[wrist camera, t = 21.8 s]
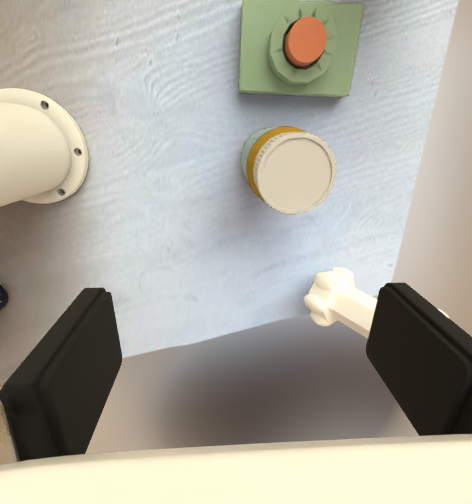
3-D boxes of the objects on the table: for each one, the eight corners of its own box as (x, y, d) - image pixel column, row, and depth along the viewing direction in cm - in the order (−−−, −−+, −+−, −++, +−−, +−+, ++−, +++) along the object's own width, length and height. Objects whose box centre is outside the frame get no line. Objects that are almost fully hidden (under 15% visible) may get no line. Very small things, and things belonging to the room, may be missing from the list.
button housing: (238, 92, 33) (240, 88, 29) (241, 5, 30) (244, -13, 26) (341, 97, 34) (355, 93, 30) (355, 12, 31) (373, -4, 27)
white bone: (346, 290, 45) (312, 327, 43) (332, 252, 40) (293, 292, 38) (455, 344, 33) (414, 399, 31) (455, 300, 28) (406, 362, 27)
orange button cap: (282, 65, 29) (286, 61, 28) (286, 21, 28) (290, 14, 26) (318, 67, 29) (323, 63, 28) (323, 23, 28) (329, 17, 26)
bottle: (278, 115, 34) (316, 104, 20) (306, 166, 37) (356, 188, 23) (229, 149, 35) (233, 162, 22) (259, 197, 38) (280, 235, 24)
